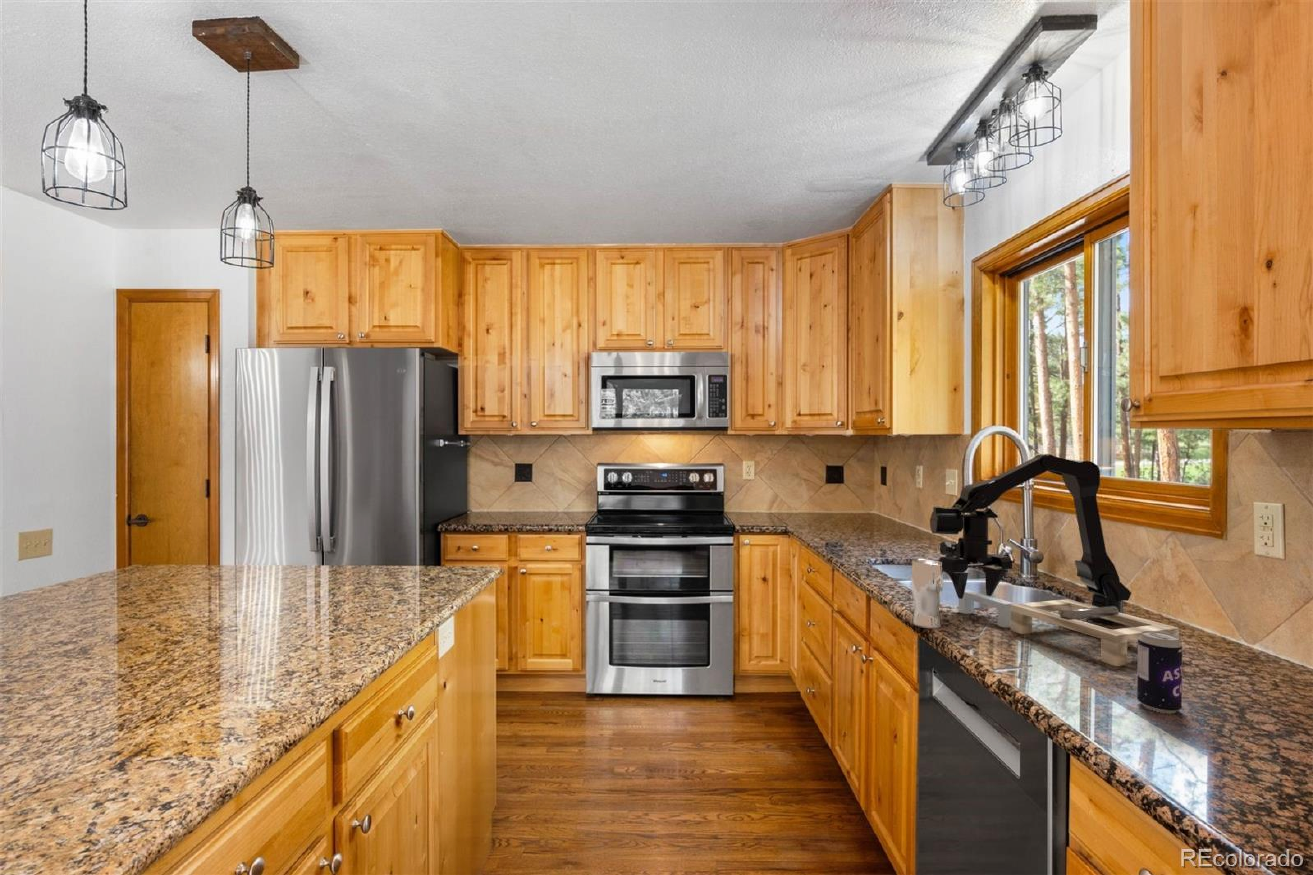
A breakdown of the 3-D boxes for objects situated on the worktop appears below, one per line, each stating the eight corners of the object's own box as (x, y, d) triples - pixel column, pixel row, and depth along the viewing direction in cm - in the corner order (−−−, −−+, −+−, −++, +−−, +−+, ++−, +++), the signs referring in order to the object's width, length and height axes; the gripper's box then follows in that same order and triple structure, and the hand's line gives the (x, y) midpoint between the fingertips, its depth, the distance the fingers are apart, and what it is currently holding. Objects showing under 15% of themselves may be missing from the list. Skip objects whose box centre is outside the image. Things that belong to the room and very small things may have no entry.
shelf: (1067, 624, 151) (1068, 599, 151) (1178, 657, 128) (1178, 628, 128) (1010, 630, 145) (1010, 604, 145) (1116, 666, 122) (1116, 635, 122)
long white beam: (967, 611, 161) (967, 589, 161) (1014, 626, 148) (1014, 603, 148) (958, 611, 160) (958, 590, 160) (1004, 627, 147) (1005, 604, 147)
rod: (1109, 614, 140) (1109, 605, 140) (1118, 616, 138) (1118, 607, 138) (1060, 619, 135) (1060, 609, 135) (1068, 621, 133) (1068, 612, 133)
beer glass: (911, 627, 146) (912, 563, 146) (909, 619, 153) (910, 557, 153) (944, 630, 144) (945, 565, 144) (940, 622, 151) (941, 559, 151)
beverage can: (1164, 717, 99) (1165, 642, 99) (1128, 703, 105) (1129, 631, 105) (1190, 713, 101) (1191, 639, 101) (1153, 699, 106) (1154, 629, 106)
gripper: (978, 529, 168) (977, 587, 168) (922, 531, 162) (921, 592, 162) (1014, 535, 158) (1013, 597, 158) (955, 538, 152) (954, 602, 152)
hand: (974, 597), depth 157 cm, fingers open, 9 cm apart
